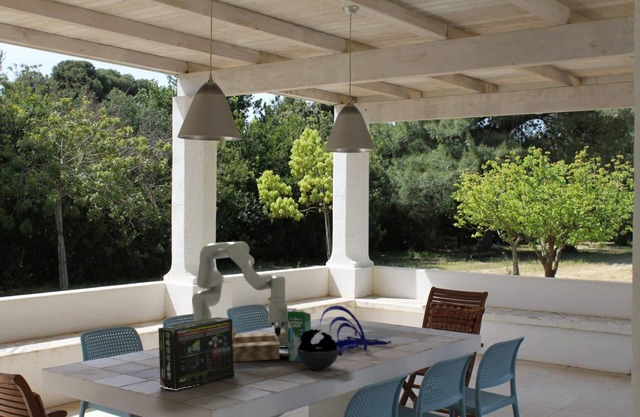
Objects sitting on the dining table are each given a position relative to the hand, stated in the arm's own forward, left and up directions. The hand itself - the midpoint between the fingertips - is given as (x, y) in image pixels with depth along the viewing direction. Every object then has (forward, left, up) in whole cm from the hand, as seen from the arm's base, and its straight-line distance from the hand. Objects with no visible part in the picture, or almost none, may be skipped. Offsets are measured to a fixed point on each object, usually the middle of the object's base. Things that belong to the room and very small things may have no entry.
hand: (277, 334), depth 390 cm
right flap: (-1, 0, -1) cm, 1 cm away
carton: (-12, 0, -11) cm, 16 cm away
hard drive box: (+9, +25, -11) cm, 29 cm away
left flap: (-24, 0, -1) cm, 24 cm away
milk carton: (+10, -13, -11) cm, 19 cm away
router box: (-42, -48, -11) cm, 65 cm away
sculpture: (+39, +9, -11) cm, 41 cm away
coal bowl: (+15, -37, -11) cm, 41 cm away
